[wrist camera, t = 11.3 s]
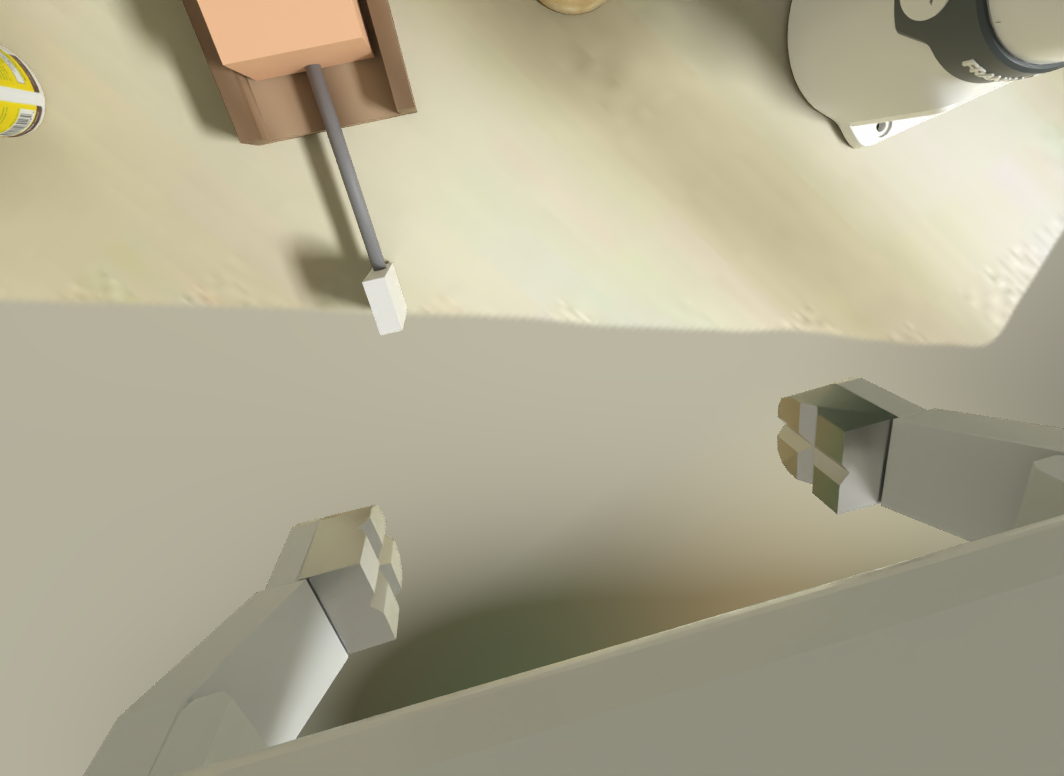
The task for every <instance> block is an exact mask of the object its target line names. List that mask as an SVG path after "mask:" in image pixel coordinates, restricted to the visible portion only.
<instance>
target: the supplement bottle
mask: <svg viewBox="0 0 1064 776" xmlns="http://www.w3.org/2000/svg"><path fill="white" fill-rule="evenodd" d="M44 115H45V97H44V94H43V90H42V88H41V85H40V83H39V81H38V80H37V78H36V76H35V75H34V73H33V72H32V71H31V69H30V68H29V67H28V66H27V65H26V64H25V63H24V62H23V61H22V60H21V59H20V58H19V57H18V56H17V55H15V54H14V53H13V52H11V51H10V50H8V49H7V48H5V47H3V46H1V45H0V137H19V136H23V135H26V134H29V133H31V132H33V131H34V130H35V129H36V128H37V127H38V126H39V125H40V124H41V122H42V120H43V118H44Z"/></svg>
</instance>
